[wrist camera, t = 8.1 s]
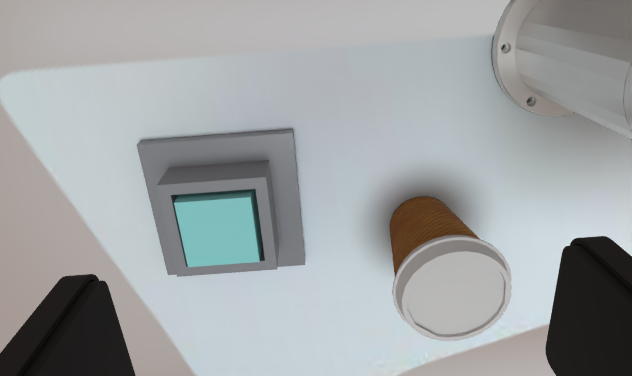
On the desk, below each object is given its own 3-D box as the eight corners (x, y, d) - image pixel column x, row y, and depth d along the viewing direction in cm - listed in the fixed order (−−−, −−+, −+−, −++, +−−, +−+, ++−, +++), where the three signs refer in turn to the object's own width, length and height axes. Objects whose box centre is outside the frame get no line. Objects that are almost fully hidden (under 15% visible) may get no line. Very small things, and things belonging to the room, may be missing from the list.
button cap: (254, 178, 42) (250, 197, 39) (262, 239, 45) (259, 261, 41) (184, 183, 42) (174, 202, 39) (197, 243, 45) (187, 267, 41)
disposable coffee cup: (358, 206, 46) (376, 277, 35) (448, 165, 44) (496, 225, 33) (395, 277, 50) (422, 361, 39) (479, 241, 48) (532, 318, 37)
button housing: (293, 129, 42) (291, 147, 38) (304, 258, 48) (305, 288, 43) (140, 140, 42) (120, 160, 38) (171, 268, 48) (156, 299, 43)
